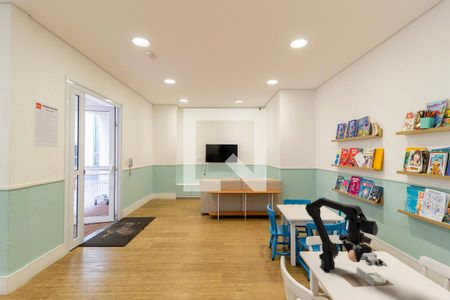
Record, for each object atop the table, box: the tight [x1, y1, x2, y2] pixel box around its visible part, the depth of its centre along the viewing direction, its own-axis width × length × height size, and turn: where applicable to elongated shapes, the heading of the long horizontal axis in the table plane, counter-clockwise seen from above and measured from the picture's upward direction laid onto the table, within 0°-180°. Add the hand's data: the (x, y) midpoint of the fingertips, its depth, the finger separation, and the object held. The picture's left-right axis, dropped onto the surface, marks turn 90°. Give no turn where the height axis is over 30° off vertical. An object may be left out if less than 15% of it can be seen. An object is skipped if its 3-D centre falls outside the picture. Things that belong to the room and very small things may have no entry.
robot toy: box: [361, 250, 387, 266], centre depth 143 cm, size 12×4×15 cm
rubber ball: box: [347, 249, 358, 263], centre depth 120 cm, size 6×6×6 cm
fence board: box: [339, 266, 395, 288], centre depth 120 cm, size 22×12×4 cm, turn 95°
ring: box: [366, 271, 387, 284], centre depth 121 cm, size 9×9×1 cm
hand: (354, 259), depth 120 cm, fingers closed on rubber ball, 6 cm apart
